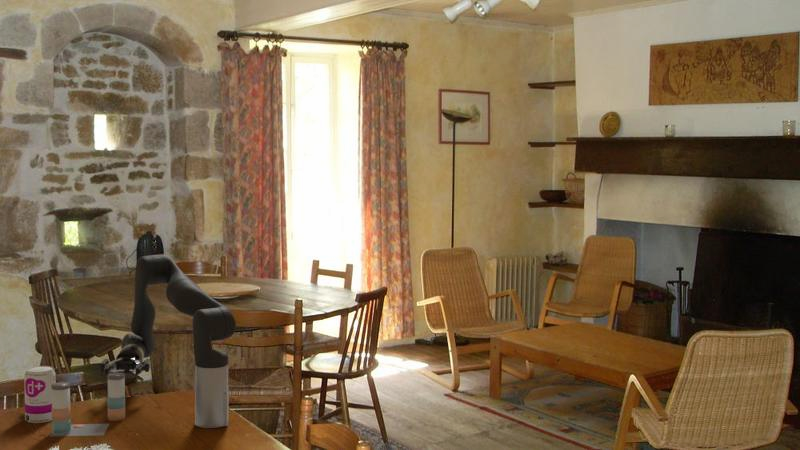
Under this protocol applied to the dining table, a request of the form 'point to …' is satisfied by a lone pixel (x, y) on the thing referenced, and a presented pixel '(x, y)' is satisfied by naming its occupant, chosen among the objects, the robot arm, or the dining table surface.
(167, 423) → the dining table surface
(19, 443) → the dining table surface
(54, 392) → the twin tube
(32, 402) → the supplement can
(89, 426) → the slate card
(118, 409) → the slim tube
